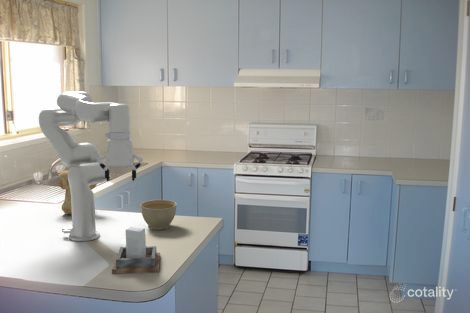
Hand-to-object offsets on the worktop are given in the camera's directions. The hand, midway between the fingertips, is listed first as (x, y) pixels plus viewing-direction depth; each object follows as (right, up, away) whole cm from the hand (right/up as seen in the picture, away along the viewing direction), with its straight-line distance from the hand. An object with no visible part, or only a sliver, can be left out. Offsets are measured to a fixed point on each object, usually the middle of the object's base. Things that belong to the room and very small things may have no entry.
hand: (120, 180), depth 197 cm
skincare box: (+8, -29, -11) cm, 32 cm away
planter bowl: (+10, -23, +35) cm, 43 cm away
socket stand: (+8, -30, -10) cm, 33 cm away
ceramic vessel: (-34, -19, +59) cm, 70 cm away
